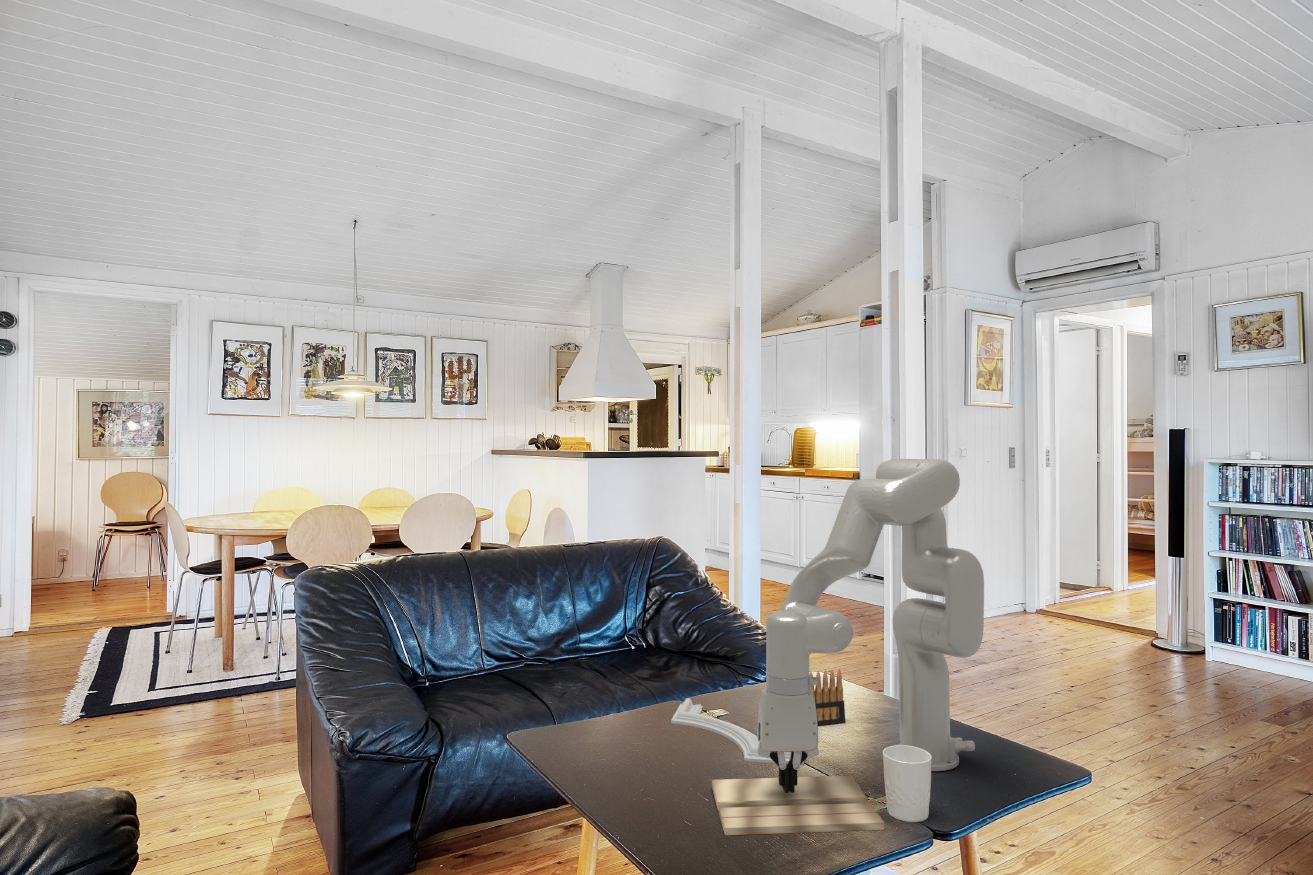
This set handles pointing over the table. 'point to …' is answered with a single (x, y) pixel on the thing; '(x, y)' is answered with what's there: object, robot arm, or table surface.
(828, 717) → the ammunition clip
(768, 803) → the plank
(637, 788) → the table surface
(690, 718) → the molding
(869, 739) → the table surface
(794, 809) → the laid board
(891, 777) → the white cup
